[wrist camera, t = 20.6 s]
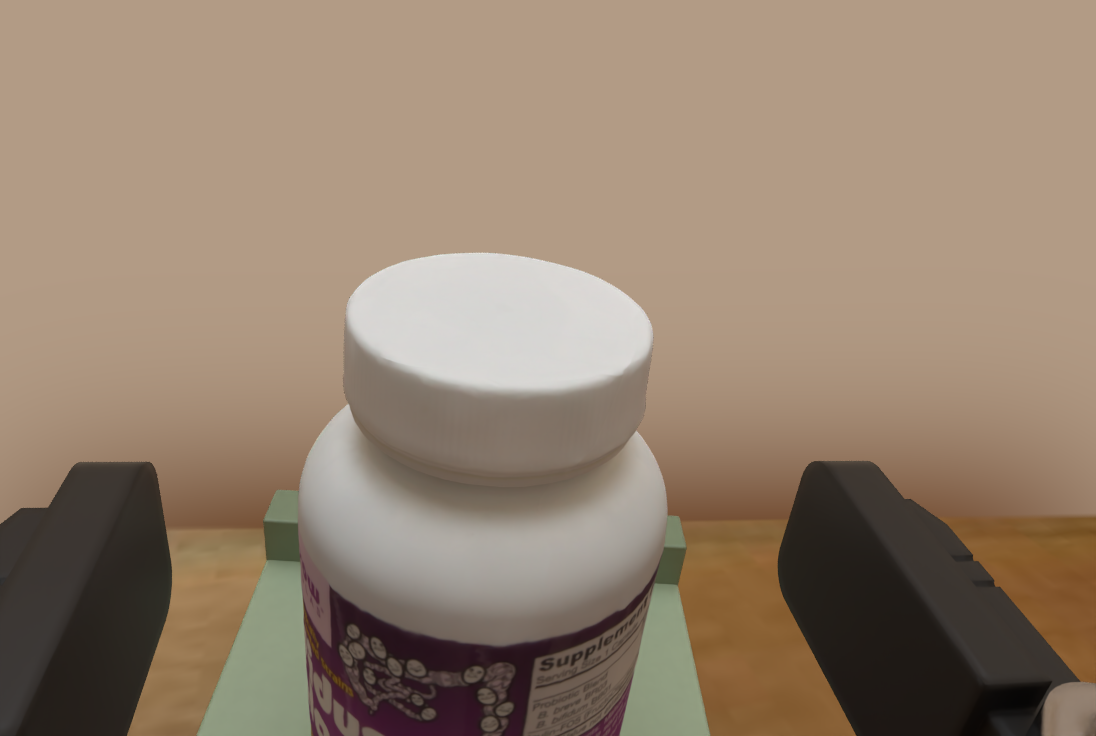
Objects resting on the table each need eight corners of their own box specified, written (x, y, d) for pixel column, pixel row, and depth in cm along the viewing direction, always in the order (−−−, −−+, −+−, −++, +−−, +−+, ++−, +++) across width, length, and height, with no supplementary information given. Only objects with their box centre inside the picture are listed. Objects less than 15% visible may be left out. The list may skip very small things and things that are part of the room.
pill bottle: (249, 786, 15) (188, 292, 10) (455, 622, 19) (481, 208, 14) (473, 1015, 12) (533, 486, 7) (660, 768, 16) (778, 316, 11)
